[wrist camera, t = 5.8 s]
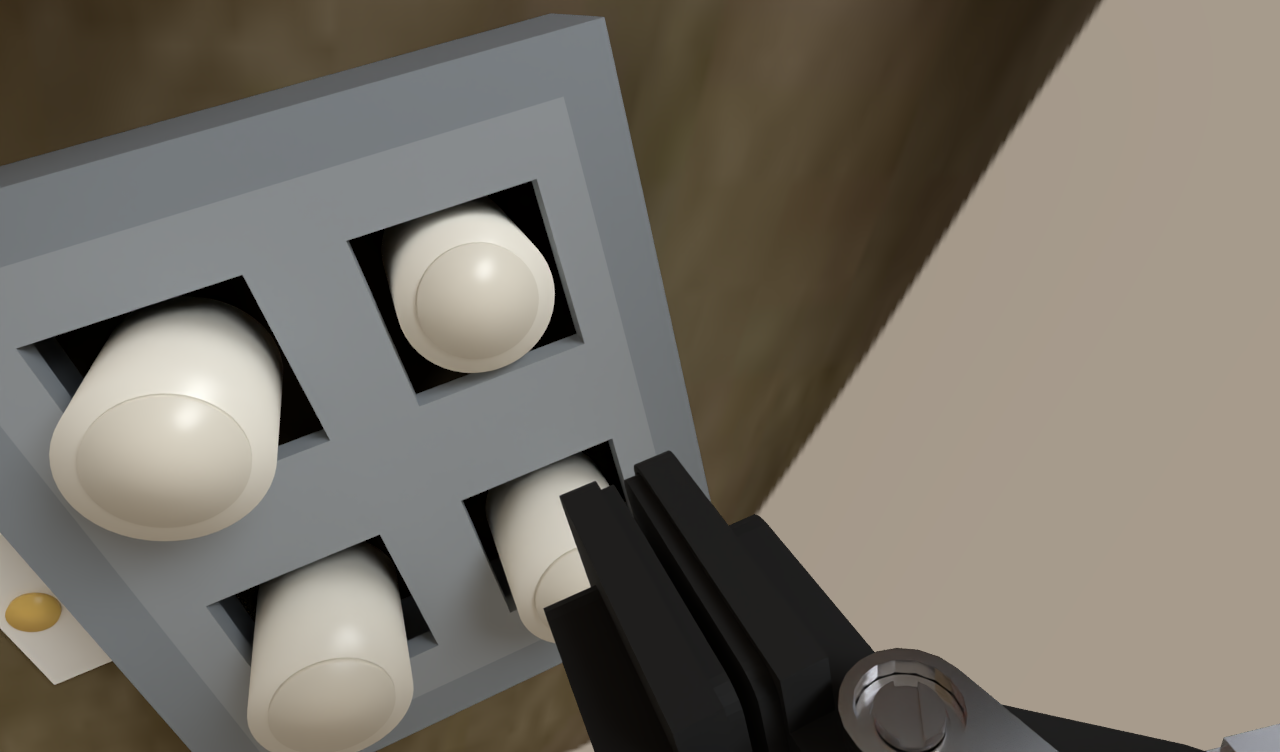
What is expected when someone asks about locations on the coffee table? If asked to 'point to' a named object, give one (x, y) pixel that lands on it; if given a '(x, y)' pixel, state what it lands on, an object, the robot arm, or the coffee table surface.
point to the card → (42, 622)
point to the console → (340, 351)
